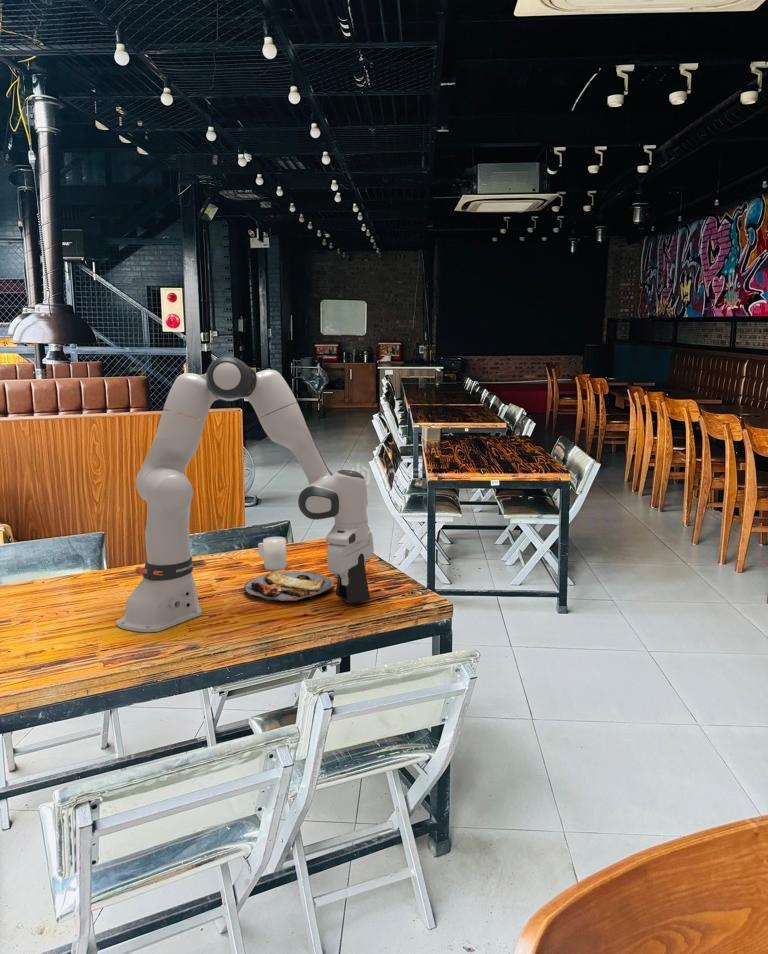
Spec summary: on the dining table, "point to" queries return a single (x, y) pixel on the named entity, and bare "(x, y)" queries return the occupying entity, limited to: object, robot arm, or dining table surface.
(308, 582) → the food plate
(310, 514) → the robot arm
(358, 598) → the door stopper
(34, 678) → the dining table surface
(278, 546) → the white ceramic cup
